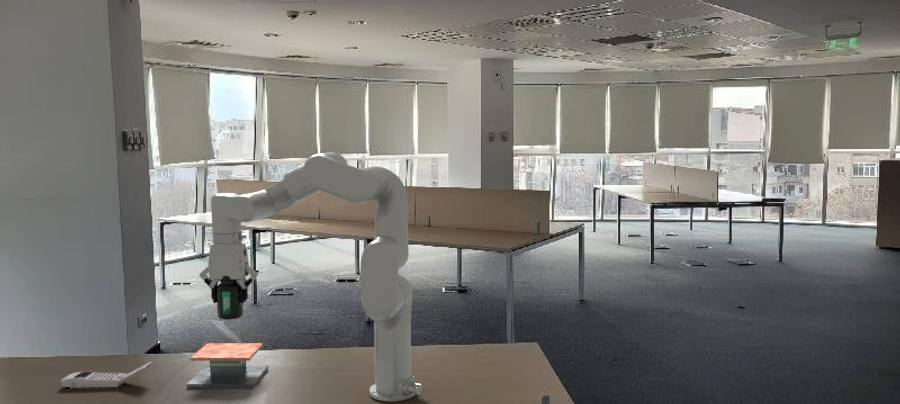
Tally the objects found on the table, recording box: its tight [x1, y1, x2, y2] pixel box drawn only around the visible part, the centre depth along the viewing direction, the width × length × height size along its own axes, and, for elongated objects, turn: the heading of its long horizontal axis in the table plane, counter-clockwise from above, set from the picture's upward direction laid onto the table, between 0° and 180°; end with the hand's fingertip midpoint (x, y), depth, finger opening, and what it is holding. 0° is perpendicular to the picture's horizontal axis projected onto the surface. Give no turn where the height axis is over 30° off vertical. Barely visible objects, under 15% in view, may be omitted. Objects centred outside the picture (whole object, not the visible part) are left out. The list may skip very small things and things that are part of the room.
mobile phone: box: [60, 361, 153, 389], centre depth 184 cm, size 6×6×25 cm
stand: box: [186, 342, 269, 390], centre depth 188 cm, size 18×14×8 cm
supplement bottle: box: [216, 276, 244, 321], centre depth 186 cm, size 7×7×12 cm
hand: (229, 301), depth 186 cm, fingers closed on supplement bottle, 6 cm apart
